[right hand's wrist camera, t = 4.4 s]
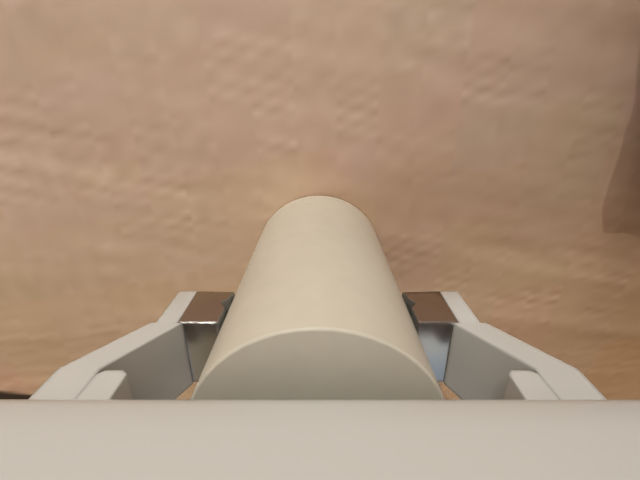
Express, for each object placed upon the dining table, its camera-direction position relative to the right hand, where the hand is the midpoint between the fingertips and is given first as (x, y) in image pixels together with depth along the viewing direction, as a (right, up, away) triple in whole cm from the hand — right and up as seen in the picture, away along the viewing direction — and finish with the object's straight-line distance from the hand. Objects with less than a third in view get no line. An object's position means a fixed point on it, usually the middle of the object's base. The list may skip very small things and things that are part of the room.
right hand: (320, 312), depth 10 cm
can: (0, +2, +4) cm, 4 cm away
